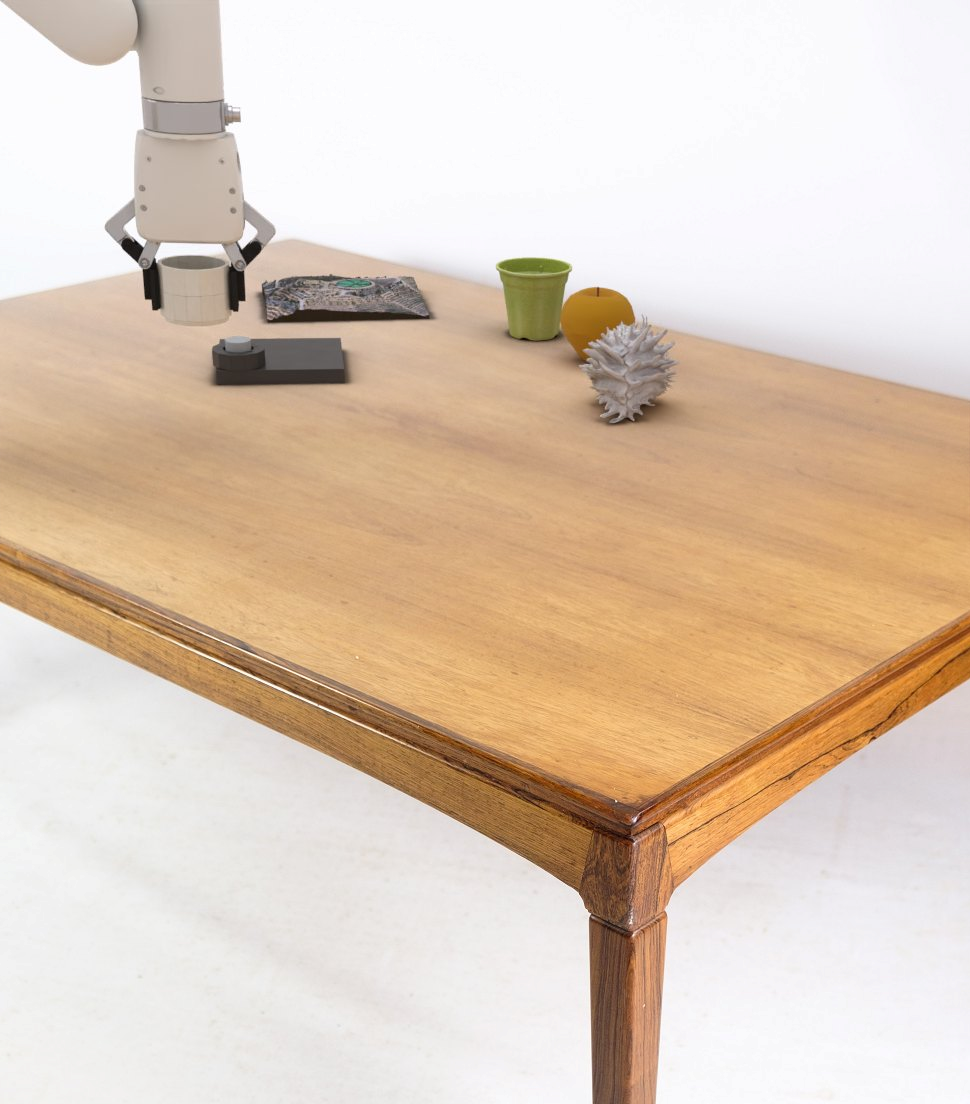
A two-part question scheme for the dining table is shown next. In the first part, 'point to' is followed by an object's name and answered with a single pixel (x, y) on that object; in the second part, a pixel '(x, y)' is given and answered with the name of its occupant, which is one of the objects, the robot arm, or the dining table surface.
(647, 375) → the spiky white shell
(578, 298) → the apple
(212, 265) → the white cup
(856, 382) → the dining table surface
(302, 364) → the scale
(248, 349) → the button
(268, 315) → the terrain model
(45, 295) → the dining table surface
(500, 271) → the plant pot
